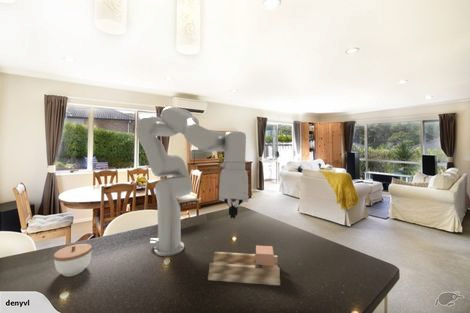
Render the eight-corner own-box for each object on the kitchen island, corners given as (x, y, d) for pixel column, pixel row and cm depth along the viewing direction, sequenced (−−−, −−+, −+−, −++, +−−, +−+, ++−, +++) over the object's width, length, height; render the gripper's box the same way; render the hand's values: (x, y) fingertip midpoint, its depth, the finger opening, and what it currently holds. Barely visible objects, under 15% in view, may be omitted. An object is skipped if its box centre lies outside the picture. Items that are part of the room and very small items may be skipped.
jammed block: (255, 273, 71) (255, 253, 71) (255, 263, 77) (256, 245, 77) (273, 274, 71) (273, 254, 71) (272, 264, 77) (272, 246, 76)
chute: (208, 279, 70) (208, 266, 70) (215, 260, 82) (215, 249, 82) (280, 285, 68) (280, 271, 67) (276, 265, 80) (276, 252, 79)
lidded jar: (55, 269, 76) (54, 244, 75) (91, 260, 82) (90, 236, 82) (52, 285, 67) (52, 256, 67) (92, 273, 74) (92, 247, 73)
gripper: (211, 166, 71) (210, 219, 72) (255, 168, 69) (253, 222, 70) (216, 164, 78) (214, 212, 79) (255, 166, 77) (254, 215, 78)
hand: (233, 216), depth 75 cm, fingers closed
